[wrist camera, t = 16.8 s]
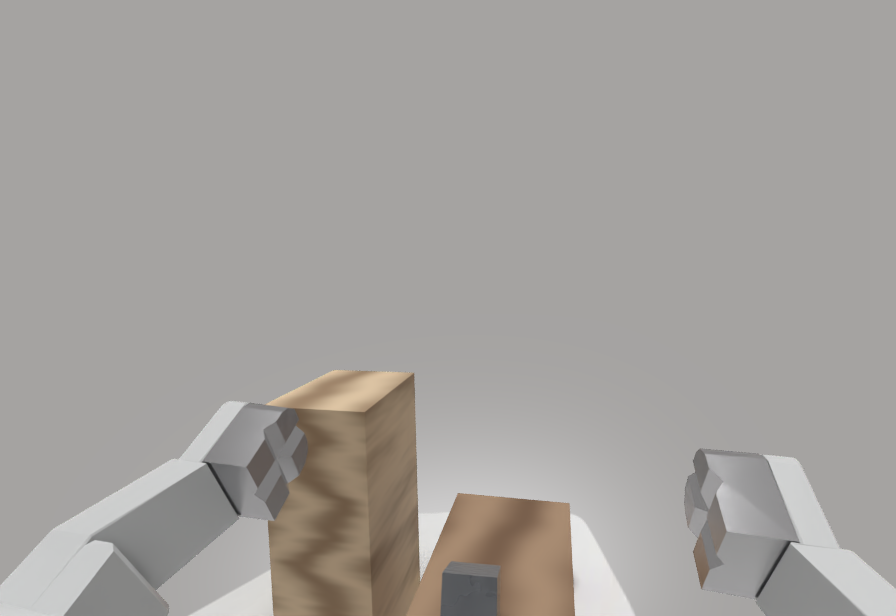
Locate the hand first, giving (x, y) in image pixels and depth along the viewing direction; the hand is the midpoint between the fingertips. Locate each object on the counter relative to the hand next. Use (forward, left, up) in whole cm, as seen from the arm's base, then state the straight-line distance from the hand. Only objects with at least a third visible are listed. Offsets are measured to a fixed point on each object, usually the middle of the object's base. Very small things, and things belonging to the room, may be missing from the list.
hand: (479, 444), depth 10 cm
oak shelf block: (-17, +30, -34) cm, 49 cm away
